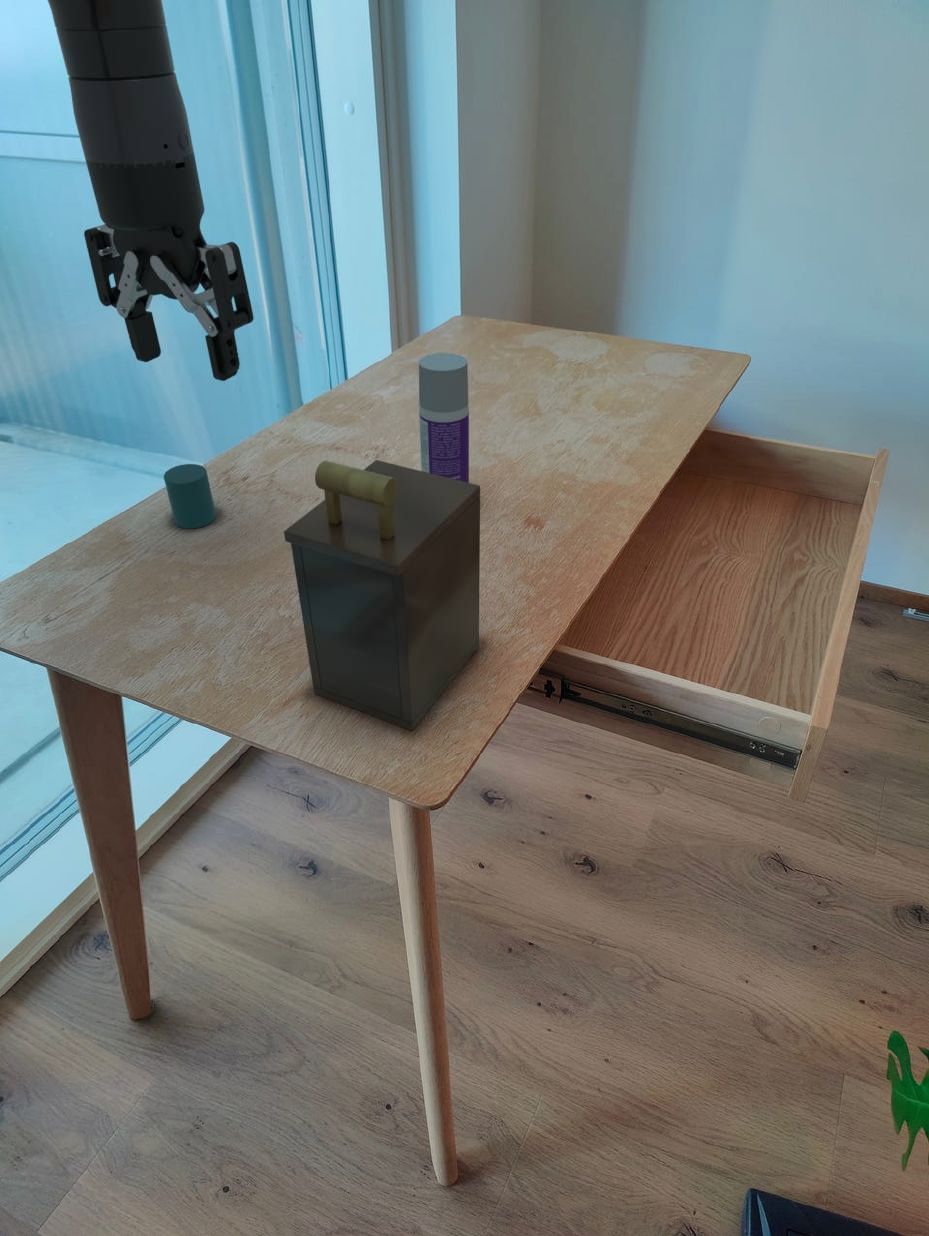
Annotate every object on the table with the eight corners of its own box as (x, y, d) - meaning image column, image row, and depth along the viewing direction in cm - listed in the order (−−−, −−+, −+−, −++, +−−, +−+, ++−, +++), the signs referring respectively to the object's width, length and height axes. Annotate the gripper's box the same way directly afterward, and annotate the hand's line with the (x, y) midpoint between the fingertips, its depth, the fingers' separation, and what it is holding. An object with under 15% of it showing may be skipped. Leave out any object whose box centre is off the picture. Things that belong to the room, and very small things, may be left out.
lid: (398, 576, 51) (393, 504, 48) (285, 541, 54) (273, 472, 51) (480, 495, 59) (480, 429, 56) (376, 469, 62) (371, 405, 59)
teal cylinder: (181, 533, 81) (170, 487, 78) (169, 515, 84) (158, 470, 81) (221, 521, 83) (212, 476, 80) (208, 504, 85) (198, 460, 82)
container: (477, 501, 86) (478, 358, 76) (452, 522, 82) (450, 374, 73) (439, 490, 88) (436, 348, 78) (413, 509, 84) (407, 364, 75)
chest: (412, 731, 60) (402, 572, 51) (313, 693, 63) (289, 537, 54) (479, 647, 67) (480, 496, 59) (388, 617, 70) (376, 469, 62)
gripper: (27, 149, 60) (92, 368, 70) (176, 166, 55) (222, 401, 65) (108, 134, 65) (157, 339, 75) (250, 148, 60) (283, 367, 70)
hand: (187, 367), depth 70 cm, fingers open, 8 cm apart
